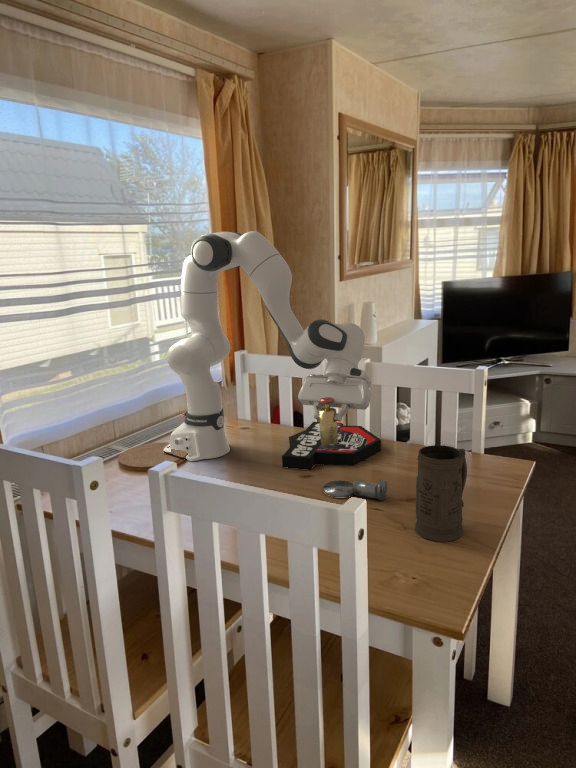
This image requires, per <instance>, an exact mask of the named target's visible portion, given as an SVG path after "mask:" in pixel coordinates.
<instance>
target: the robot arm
mask: <svg viewBox="0 0 576 768" xmlns="http://www.w3.org/2000/svg"><path fill="white" fill-rule="evenodd" d="M238 268H242V269H243V271H244V272H245V273H246V274H247V276H248V277H249V279H250V280H251V282H252V283H253V285H254V287H256V290H257V291H258V293H259V294H260V296H261V298H262V301H263V304H264V306H265V308H266V310H267V312H268V313H269V316H270V317H271V319H272V321H273V323H274V324H275V325H276V327H277V329H278V330H279V332H280V334H281V335H282V336H283V338H284V340H285V342H286V345H287V347H288V350H289V354H290V357H291V359H292V360H293V362H294V364H296V365H297V366H299V367H301V368H303V369H305V370H306V369H307V370H313V369H316V368H318V367H319V366H320V365H321V364H322V362H323V361H324V360H325V359H326V361H327V363H326V367H325V369H324V373H323V374H313V373H312V374H310V375H308V376H306V377H305V378H304V380H303V384H302V386H301V388H300V390H299V392H298V395H297V398H298V400H299V402H300V403H301V405H303V406H313V409H314V413H313V418H314V420H318V421H320V420H319V410H320V409H322V407H325V403H321V402H320V399H321V398H325V397H331V398H334V402H332V403H330V408H339V409H340V411H339V412H336V413H335V417H334V420H335V421H337V422H339V423H342V419H343V417H344V416H345V415H346V414H347V413H348V412H349V410H351V409H352V410H362V411H365V410H367V408H369V406H370V404H371V399H372V390H371V386H372V381H371V378H370V376H369V374H368V373H367V372H366V370H364V369H361V368H359V362H361V360H362V357H363V352H364V347H365V342H366V341H365V340H366V338H365V333H364V330H363V329H362V328H361V327H360V326H359V325H358V324H355V323H354V322H353V323H352V322H342V323H335V322H334V323H333V322H331V321H329V320H327V319H316V320H314V321H312V322H311V323H310V324H309V325H308V326H307V327H306V328H305V329H304V328H303V327H302V325H301V323H300V322H299V320H298V318H297V317H296V315H295V313H294V312H293V310H292V308H291V304H290V303H291V302H290V293H291V287H292V283H293V273H292V271H291V269H290V267H289V264H288V262H287V261H286V260H285V259H284V257H283V256H282V255H281V253H280V251H278V249H277V248H276V247H275V246H274V245H273V243H271V242H270V241H269V240H268V238H267V237H265V236H264V235H263V234H262V233H261V232H259V231H257V230H256V231H255V230H251V231H246V232H245V233H243V234H242V233H239V232H236V231H231V232H230V231H217V232H213V233H209V232H208V233H205V234H202V235H200V236H198V237H196V239H194V241H193V242H192V244H191V247H190V255H189V256H187V257H186V258H185V259H184V261H183V265H182V271H181V282H180V291H181V295H180V297H181V315H182V318H183V319H184V321H186V322H188V324H189V328H190V331H191V336H190V337H186V338H182V339H179V340H178V341H177V342H175V343H174V344H172V345H171V346H170V347H169V349H168V351H167V354H166V355H167V356H166V360H167V363H168V366H169V368H170V369H171V370H172V371H173V372H174V373H175V374H177V375H178V376H179V377H180V380H181V382H182V385H183V387H184V391H185V397H186V404H187V406H186V407H187V411H185V412H184V413H181V414H180V416H181V418H184V420H183V422H182V423H181V424H180V425H178V426H177V427H176V428H175V429H174V430H173V431H172V432H171V434H170V437H169V444H167V445H165V447H164V448H163V451H165V452H171V449H175V450H182V451H185V452H187V453H188V455H187V456H186V459H187V460H186V461H189V462H197V461H201V460H210V459H211V460H212V459H215V458H219V457H223V456H225V455H227V454H229V452H230V450H231V447H230V445H229V442H228V439H227V435H226V430H225V411H224V408H223V406H222V405H223V403H222V402H223V401H222V391H221V386H220V384H219V383H218V382H217V381H214V379H213V376H212V374H211V367H213V366H217V365H218V364H220V363H222V362H223V361H224V360H225V359H226V358H227V357H228V356H229V355H230V353H231V350H232V349H231V342H230V339H229V338H228V336H227V335H225V334H224V331H223V330H222V327H221V323H220V319H219V306H218V304H219V303H218V300H219V299H218V278H219V276H220V273H221V272H224V271H230V270H233V269H238ZM169 446H170V447H169ZM167 447H169V448H167Z"/></svg>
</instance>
